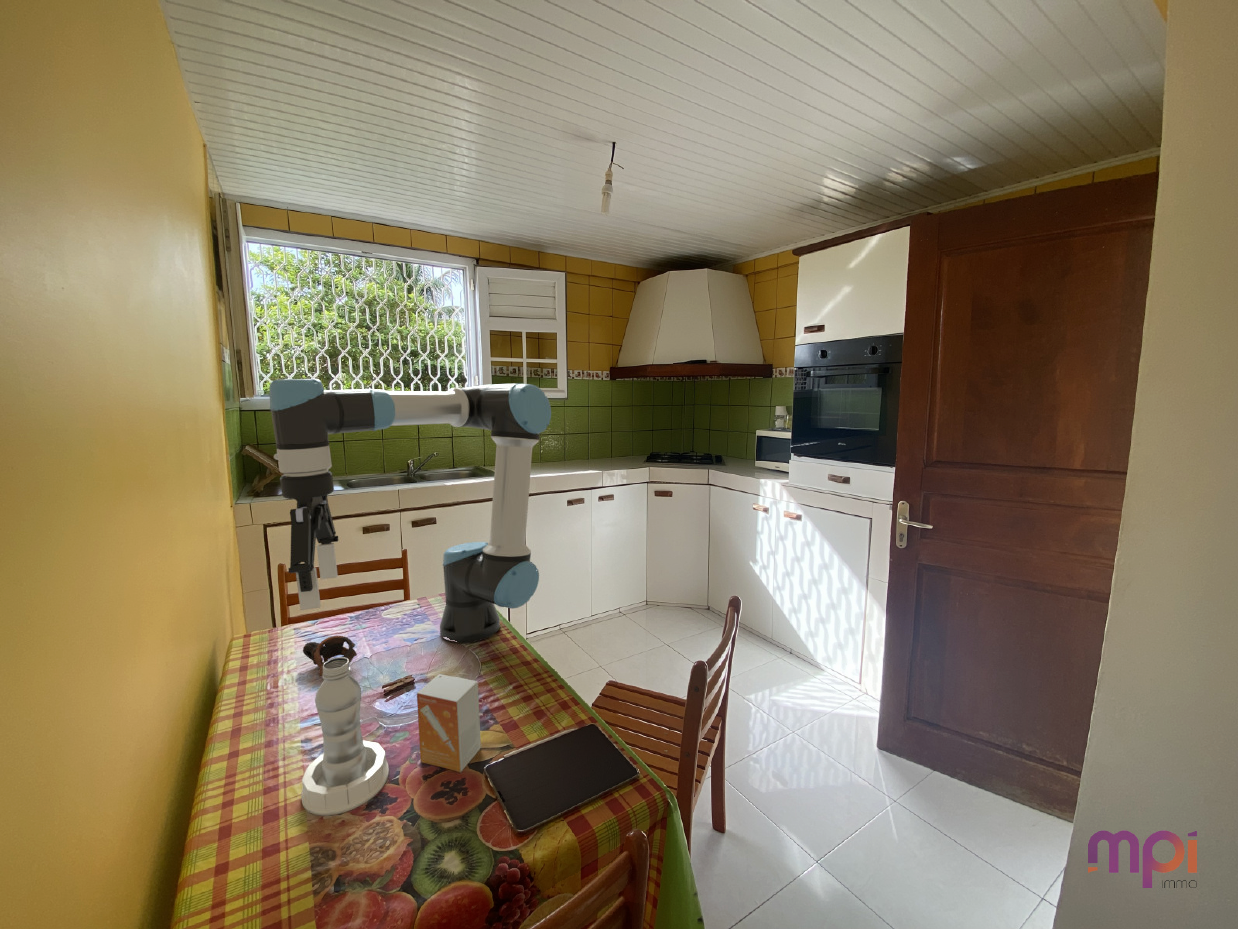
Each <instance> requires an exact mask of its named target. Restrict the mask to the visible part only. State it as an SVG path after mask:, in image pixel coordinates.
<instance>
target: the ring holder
mask: <svg viewBox="0 0 1238 929" xmlns="http://www.w3.org/2000/svg"><path fill="white" fill-rule="evenodd" d="M363 744H364V746H365V748H366V752H367V756H368V762H367V769H366V771H365V773H364V775H363V776H362V777H360V778H358V779H356V780H354V781H353V782H351V783H349V784H347V785H341V786H336V787H331V786H329V785H328V784H327V783H326V782H325V780H324V777H323V774H322V761H323V753H321V754H320V755H319V756H317V757H316V759H315V760H313V761H312V762H311V763H310V764H308V766H307V767H306V769H305V772H304V774H303V776H302V778H301V783H302V789H301V793H300V794H301V796H300V798H301V804H302V807H303V808H304V810H306V811H307V812H308V813H310V814H313V815H315V816H322V817H326V816H335V815H340V814H344V813H347V812H350V811H352V810H354V809H357V808H358V807H361V806H362V805H364V804H366V803H367V802H369V801H370V800H372V799H373V798H374V797H375V796H377V795H378V793H379V792H381V790H382V789H383V788H384V786H385V785H386V783H387V781H388V778H389V773H390V771H389V770H390V769H389V767H390V766H389V763H388V761H387V759H386V757H387V756H386V750H384V748H383V747H382V746H381V745H380V743H378V742H373V741H369V740H365V739H363Z"/></svg>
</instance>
